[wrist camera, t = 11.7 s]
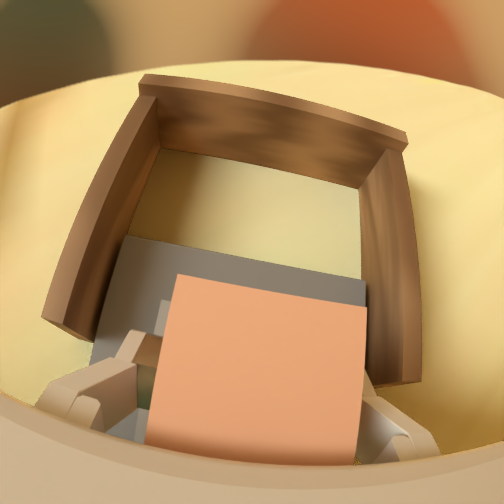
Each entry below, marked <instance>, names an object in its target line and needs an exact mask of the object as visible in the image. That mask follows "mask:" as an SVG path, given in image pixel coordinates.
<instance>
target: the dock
mask: <svg viewBox="0 0 504 504" xmlns="http://www.w3.org/2000/svg"><path fill="white" fill-rule="evenodd" d="M138 85H139V97H138V98H137V100H136V102H135V103H134V105H133V107H132V108H131V110H130V112H129V113H128V115H127V117H126V118H125V120H124V122H123V124H122V125H121V127H120V129H119V131H118V132H117V134H116V136H115V138H114V140H113V141H112V143H111V145H110V147H109V149H108V151H107V153H106V155H105V157H104V158H103V160H102V162H101V164H100V166H99V168H98V170H97V172H96V174H95V176H94V178H93V181H92V183H91V185H90V187H89V189H88V191H87V193H86V196H85V198H84V200H83V202H82V204H81V207H80V209H79V211H78V214H77V216H76V218H75V221H74V223H73V226H72V228H71V230H70V233H69V235H68V238H67V241H66V243H65V246H64V248H63V251H62V254H61V256H60V259H59V262H58V265H57V268H56V271H55V273H54V276H53V279H52V282H51V285H50V289H49V292H48V295H47V298H46V301H45V305H44V308H43V312H42V315H41V317H42V318H43V319H45V320H47V321H48V322H50V323H52V324H53V325H55V326H57V327H58V328H60V329H62V330H64V331H65V332H67V333H69V334H71V335H73V336H74V337H76V338H78V339H82V340H85V341H88V342H92V343H94V342H95V337H96V333H97V329H98V325H99V321H100V317H101V314H102V310H103V306H104V303H105V299H106V295H107V292H108V288H109V285H110V282H111V278H112V275H113V272H114V268H115V265H116V262H117V259H118V256H119V253H120V250H121V247H122V244H123V241H124V238H125V235H127V232H128V229H129V226H130V224H131V221H132V218H133V215H134V212H135V210H136V207H137V204H138V202H139V199H140V196H141V194H142V191H143V188H144V186H145V183H146V181H147V178H148V176H149V173H150V171H151V168H152V166H153V164H154V161H155V159H156V156H157V154H158V152H159V149H160V148H166V149H173V150H179V151H185V152H191V153H197V154H203V155H209V156H214V157H220V158H225V159H231V160H236V161H241V162H246V163H251V164H256V165H260V166H265V167H270V168H274V169H279V170H283V171H288V172H292V173H297V174H301V175H305V176H309V177H313V178H317V179H321V180H325V181H329V182H333V183H337V184H341V185H345V186H349V187H352V188H356V189H359V203H360V226H361V280H364V281H366V294H365V307H367V324H366V349H365V366H364V369H365V371H366V373H367V375H368V377H369V379H370V381H371V384H372V386H373V388H382V387H389V386H396V385H403V384H409V383H415V382H421V372H422V312H421V291H420V276H419V263H418V253H417V243H416V235H415V227H414V219H413V212H412V206H411V199H410V193H409V187H408V182H407V176H406V171H405V166H404V161H403V156H402V152H403V151H404V149H405V148H406V147H407V145H408V140H407V136H406V132H404V131H401V130H399V129H396V128H393V127H391V126H388V125H385V124H382V123H379V122H377V121H374V120H371V119H368V118H365V117H362V116H359V115H355V114H352V113H349V112H346V111H343V110H339V109H336V108H332V107H329V106H325V105H322V104H318V103H314V102H311V101H307V100H303V99H299V98H295V97H291V96H287V95H282V94H278V93H273V92H269V91H264V90H259V89H254V88H249V87H244V86H238V85H233V84H227V83H221V82H214V81H208V80H201V79H193V78H185V77H176V76H167V75H156V74H145V75H144V76H143V77H142V79H141V80H140V82H139V83H138Z"/></svg>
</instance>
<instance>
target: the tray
mask: <svg viewBox="0 0 504 504" xmlns="http://www.w3.org/2000/svg"><path fill="white" fill-rule="evenodd" d="M177 274H182V275H187V276H192V277H197V278H202V279H207V280H212V281H218V282H223V283H228V284H233V285H239V286H244V287H249V288H255V289H260V290H266V291H271V292H277V293H283V294H288V295H294V296H300V297H306V298H312V299H318V300H324V301H330V302H336V303H342V304H348V305H355V306H361V307H365V294H366V281H364V280H359V279H353V278H348V277H343V276H337V275H332V274H327V273H321V272H316V271H311V270H306V269H300V268H295V267H290V266H285V265H279V264H274V263H269V262H264V261H259V260H253V259H248V258H243V257H238V256H233V255H228V254H222V253H217V252H212V251H207V250H202V249H197V248H192V247H187V246H181V245H176V244H171V243H166V242H161V241H156V240H151V239H146V238H141V237H136V236H131V235H125V238H124V241H123V244H122V247H121V250H120V253H119V256H118V259H117V262H116V265H115V268H114V272H113V275H112V278H111V282H110V285H109V288H108V292H107V295H106V299H105V303H104V306H103V310H102V314H101V317H100V321H99V325H98V329H97V333H96V337H95V342H94V346H93V350H92V355H91V359H90V364H89V366H90V365H93V364H95V363H97V362H100V361H102V360H104V359H107V358H109V357H112V358H115V356H116V354H117V352H118V351H119V349H120V347H121V345H122V343H123V342H124V340H125V338H126V336H127V334H128V333H129V331H130V330H132V329H134V330H138V331H142V332H146V333H151V334H155V335H159V336H164V332H165V327H166V322H167V318H168V313H169V309H170V304H171V300H172V296H173V291H174V287H175V283H176V279H177ZM148 416H149V410H145V409H141V408H137V410H135V411H134V412H133V413H131V414H130V415H128V416H127V417H126V418H124V419H123V420H122V421H120V422H119V423H118V424H116V425H115V426H113V427H112V428H111V429H109V430H108V431H106V432H105V433H106V434H109V435H112V436H116V437H119V438H123V439H126V440H130V441H134V442H138V443H141V444H144V441H145V435H146V428H147V422H148Z"/></svg>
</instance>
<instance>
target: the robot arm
mask: <svg viewBox="0 0 504 504" xmlns="http://www.w3.org/2000/svg"><path fill="white" fill-rule="evenodd" d="M162 341H163V336H159V335H155V334H151V333H146V332H142V331H138V330H134V329H132V330H130V331H129V333H128V334H127V336H126V338H125V340H124V342H123V343H122V345H121V347H120V349H119V351H118V352H117V354H116V356H115V358H112V357H109V358H107V359H104V360H102V361H100V362H97V363H95V364H93V365H90V366H88V367H86V368H83V369H81V370H78V371H76V372H74V373H71V374H69V375H66V376H64V377H61V378H59V379H57V380H54V381H52V382H50V383H49V385H48V386H47V388H46V389H45V391H44V392H43V394H42V395H41V397H40V398H39V400H38V401H37V403H36V404H35V406H34V407H33V406H31V405H29V404H27V403H24V402H22V401H20V400H18V399H16V398H14V397H12V396H10V395H8V394H6V393H4V392H2V391H0V504H504V441H500V442H497V443H493V444H489V445H485V446H482V447H478V448H473V449H469V450H465V451H460V452H455V453H450V454H445V455H442V454H441V452H440V450H439V448H438V446H437V444H436V442H435V440H434V438H433V436H432V434H431V432H429V431H428V430H427V429H425V428H424V427H422V426H421V425H420V424H418V423H417V422H415V421H414V420H413V419H411V418H410V417H408V416H407V415H406V414H404V413H403V412H401V411H400V410H399V409H397V408H396V407H395V406H393V405H392V404H390V403H389V402H388V401H386V400H385V399H384V398H382V397H377V394H376V392H375V390H374V388H373V386H372V384H371V381H370V379H369V377H368V375H367V373H366V371H365V369H364V380H363V392H362V403H361V413H360V422H359V430H358V438H357V446H356V453H355V457H356V458H357V459H358V460H359V461H360V462H361V463H362V464H363V465H344V466H299V465H277V464H263V463H251V462H241V461H233V460H225V459H218V458H211V457H204V456H198V455H193V454H187V453H182V452H177V451H172V450H167V449H163V448H158V447H154V446H150V445H145V444H141V443H138V442H134V441H130V440H126V439H123V438H119V437H116V436H112V435H109V434H106V433H105V432H106V431H108V430H109V429H111V428H112V427H113V426H115V425H116V424H118V423H119V422H120V421H122V420H123V419H124V418H126V417H127V416H128V415H130V414H131V413H133V412H134V411H135V410H137V408H141V409H145V410H150V404H151V399H152V393H153V387H154V382H155V377H156V371H157V366H158V361H159V356H160V351H161V346H162Z"/></svg>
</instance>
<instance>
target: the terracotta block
mask: <svg viewBox="0 0 504 504" xmlns="http://www.w3.org/2000/svg"><path fill="white" fill-rule="evenodd" d="M366 324H367V307H361V306H355V305H348V304H342V303H336V302H330V301H324V300H318V299H312V298H306V297H300V296H294V295H288V294H283V293H277V292H271V291H266V290H260V289H255V288H249V287H244V286H239V285H233V284H228V283H223V282H218V281H212V280H207V279H202V278H197V277H192V276H187V275H182V274H177V279H176V283H175V287H174V291H173V296H172V300H171V304H170V309H169V313H168V318H167V322H166V327H165V332H164V336H163V341H162V346H161V351H160V356H159V361H158V366H157V371H156V377H155V382H154V387H153V393H152V399H151V404H150V410H149V416H148V422H147V428H146V435H145V441H144V444H145V445H150V446H154V447H158V448H163V449H167V450H172V451H177V452H182V453H187V454H193V455H198V456H204V457H211V458H218V459H225V460H233V461H241V462H251V463H263V464H277V465H299V466H344V465H354V459H355V453H356V446H357V438H358V430H359V422H360V413H361V403H362V392H363V380H364V366H365V349H366Z"/></svg>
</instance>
